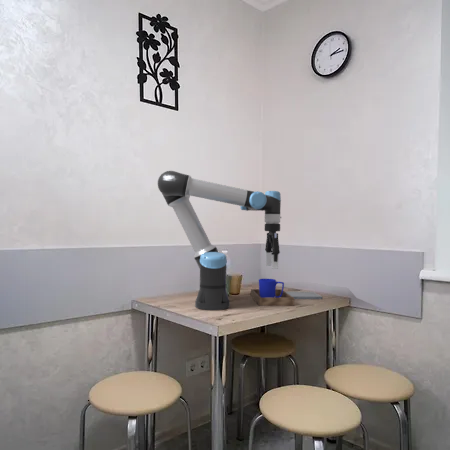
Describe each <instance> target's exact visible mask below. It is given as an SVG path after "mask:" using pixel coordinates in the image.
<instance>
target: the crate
mask: <svg viewBox="0 0 450 450" xmlns="http://www.w3.org/2000/svg"><path fill="white" fill-rule="evenodd" d="M281 292H282V288H281V289H279V288H276V290H275V295H276V296H280V295H281ZM286 292H287V291H285V290H283V294H282V296H281V297H280V298H276V297H274V298H261V297H260V292H259V288H258V289H257V288H254V289H253V288H252V289H250V297H251V298H252V300H253V301H254V302H255V303H256V304H257V305H258V306H259V307H260V306H261V307H263V306H264V307H265V306H266V307H269V306H270V307H272V306H274V307H279V306H281V307H283V306H284V307H285V306H286V307H289V306H291V307H294V306H295V299H294V298H293V297H292V296H290V295H289V294H287V293H286Z"/></svg>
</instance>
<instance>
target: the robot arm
mask: <svg viewBox="0 0 450 450" xmlns="http://www.w3.org/2000/svg"><path fill="white" fill-rule="evenodd" d="M157 188H158V191H160V193H161V194H162V195H163V198H164V200H165V202H166V205H167V206H168V207H170V208H172V209H173V211H174V213H175V215H176V217H177V219H178V221H179V223H180V225H181V227H182V230H183V231H184V233H185V235H186V237H187V239H188V241H189V243H190V245H191V247H192V250H193V251H194V255H193V258H194V260H195V262H196V264H197V266H198V268H199V290H198V292H197V295H196V298H195V303H194V306H195V308H196V309H199V310H205V311H219V310H226V309H229V308H230V307H231V304H230V303H231V302H230V299H229V294H228V292H227V263H228V259H227V255H226V254H225V253H222V252H219V250H218V248H217V246H216V245H213V244H212V243H211V240H210V239H209V237H208V235H207V233H206V231H205V229H204V227H203V224H202V223H201V221H200V219H199V217H198V215H197V213H196V211H195V209H194V207H193V205H192V203H191V201H190V197H196V198H201V199H206V200H210V201H215V202H220V203H225V204H231V205H236V206H239V207H240V209H241V211H245V212H248V211H255V212H257V211H262V212H263V211H264V231H265V232H266V240H265V241H266V242H265V253H266V254H265V266H266V267H267V266H271V269H273V270H275V269H276V270H278V269H279V254H280V253H281V251H280V244H279V233H277V232H280V231H281V224H280V223H281V219H282V216H281V205H282V204H281V201H282V199H281V198H282V197H281V193H280V191H278V190H267V191H265V192H262V191H259V190H258V191H252V190H247V189H244V188H240V187H239V188H238V187H236V186H235V187H233V186H229V185H226V184H222V183H221V184H220V183H216V182H211V181H206V180H201V179H196V178H192V176H191V175H189V174H185V173H181V172H178V171H174V170H166V171H164V172H163V173H162V172H161V174H160V175H159V177H158V179H157Z"/></svg>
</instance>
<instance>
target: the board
mask: <svg viewBox="0 0 450 450" xmlns="http://www.w3.org/2000/svg"><path fill="white" fill-rule="evenodd" d="M285 292H286V293H287V294H289V295H290V296H292V297H293V298H294V300H323V296H322V295H320V294H318V293H316V292H315V291H285Z"/></svg>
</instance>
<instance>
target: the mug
mask: <svg viewBox="0 0 450 450" xmlns="http://www.w3.org/2000/svg"><path fill="white" fill-rule="evenodd" d="M277 284H281V285H282V288H281V289H282V292H281V295H280V296H276V295H275V290H276V289H277ZM284 286H285V283H284V282H283V281H277V280H276V279H274V278H259V279H258V289H259V292H260V297H261V298H281V296H282V294H283V291H284Z"/></svg>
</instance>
